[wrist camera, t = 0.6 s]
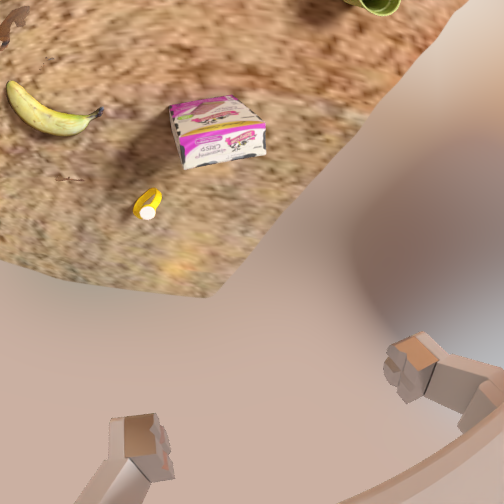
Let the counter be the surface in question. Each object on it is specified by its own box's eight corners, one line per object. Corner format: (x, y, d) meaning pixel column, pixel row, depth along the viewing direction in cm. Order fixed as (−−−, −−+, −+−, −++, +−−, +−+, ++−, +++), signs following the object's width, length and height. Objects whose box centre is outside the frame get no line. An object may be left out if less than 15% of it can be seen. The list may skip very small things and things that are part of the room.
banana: (-50, 135, 34) (-59, 144, 31) (17, -8, 25) (9, -10, 22) (98, 209, 56) (97, 221, 53) (184, 87, 47) (187, 91, 44)
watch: (140, 208, 58) (140, 228, 54) (130, 200, 57) (129, 219, 52) (163, 189, 57) (165, 208, 53) (153, 180, 55) (154, 198, 51)
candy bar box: (232, 92, 49) (267, 121, 38) (234, 119, 53) (268, 156, 41) (166, 103, 47) (177, 136, 36) (170, 131, 50) (183, 173, 39)
